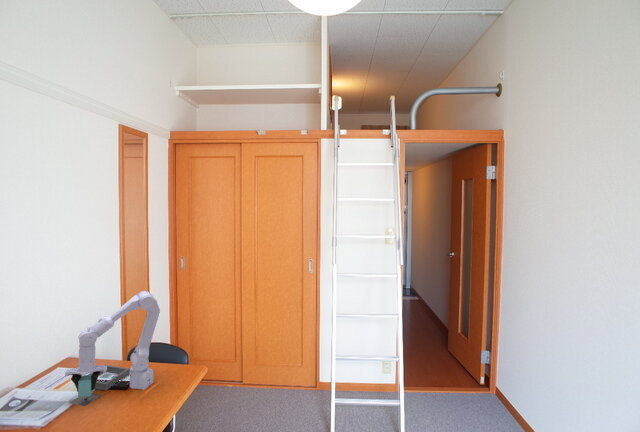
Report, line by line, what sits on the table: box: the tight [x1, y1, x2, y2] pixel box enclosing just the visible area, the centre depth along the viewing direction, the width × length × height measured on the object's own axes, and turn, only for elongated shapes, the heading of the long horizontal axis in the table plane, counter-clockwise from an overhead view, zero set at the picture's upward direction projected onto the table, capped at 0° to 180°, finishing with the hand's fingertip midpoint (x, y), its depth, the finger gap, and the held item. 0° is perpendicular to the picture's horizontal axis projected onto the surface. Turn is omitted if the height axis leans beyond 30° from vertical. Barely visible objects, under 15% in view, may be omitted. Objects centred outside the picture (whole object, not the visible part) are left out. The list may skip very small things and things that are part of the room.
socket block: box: [77, 374, 95, 398], centre depth 134 cm, size 4×4×7 cm
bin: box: [87, 364, 131, 391], centre depth 149 cm, size 14×14×4 cm
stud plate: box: [70, 392, 102, 407], centre depth 135 cm, size 8×8×4 cm
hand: (86, 389), depth 135 cm, fingers closed on socket block, 4 cm apart
